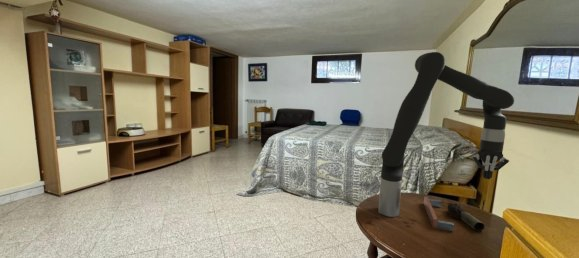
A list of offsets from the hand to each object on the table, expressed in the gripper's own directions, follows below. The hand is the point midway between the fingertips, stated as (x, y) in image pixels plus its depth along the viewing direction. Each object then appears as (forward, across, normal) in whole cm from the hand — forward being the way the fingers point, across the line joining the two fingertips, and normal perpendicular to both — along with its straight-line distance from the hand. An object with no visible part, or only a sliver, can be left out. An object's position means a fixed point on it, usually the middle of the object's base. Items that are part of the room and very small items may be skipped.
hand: (486, 178), depth 102 cm
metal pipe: (+21, -7, 0) cm, 23 cm away
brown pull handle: (+21, -16, 0) cm, 26 cm away
